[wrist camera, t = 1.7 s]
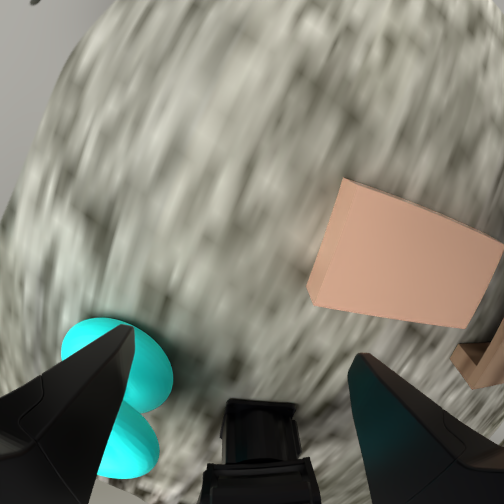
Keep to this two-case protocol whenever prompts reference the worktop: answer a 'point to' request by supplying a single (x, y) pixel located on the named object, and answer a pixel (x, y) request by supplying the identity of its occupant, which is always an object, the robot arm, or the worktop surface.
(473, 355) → the shelf
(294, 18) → the worktop surface
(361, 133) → the worktop surface
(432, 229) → the tile
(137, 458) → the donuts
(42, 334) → the worktop surface
